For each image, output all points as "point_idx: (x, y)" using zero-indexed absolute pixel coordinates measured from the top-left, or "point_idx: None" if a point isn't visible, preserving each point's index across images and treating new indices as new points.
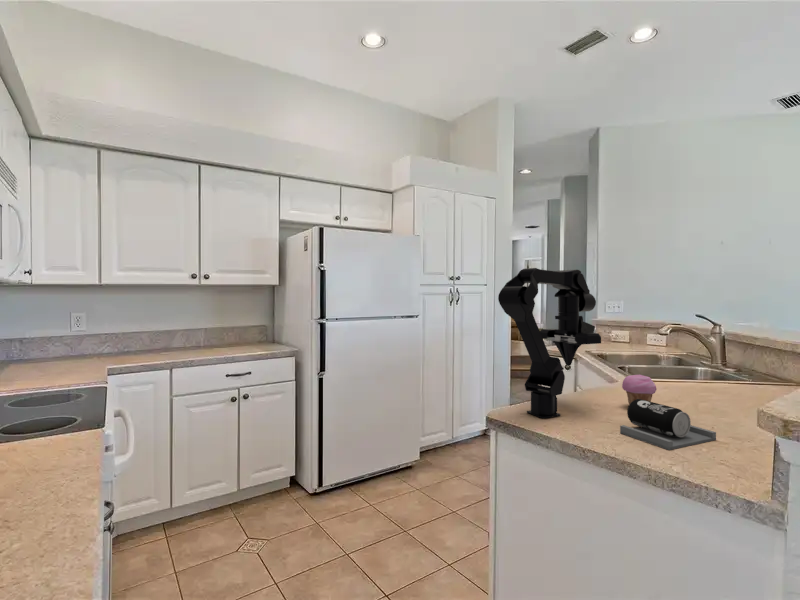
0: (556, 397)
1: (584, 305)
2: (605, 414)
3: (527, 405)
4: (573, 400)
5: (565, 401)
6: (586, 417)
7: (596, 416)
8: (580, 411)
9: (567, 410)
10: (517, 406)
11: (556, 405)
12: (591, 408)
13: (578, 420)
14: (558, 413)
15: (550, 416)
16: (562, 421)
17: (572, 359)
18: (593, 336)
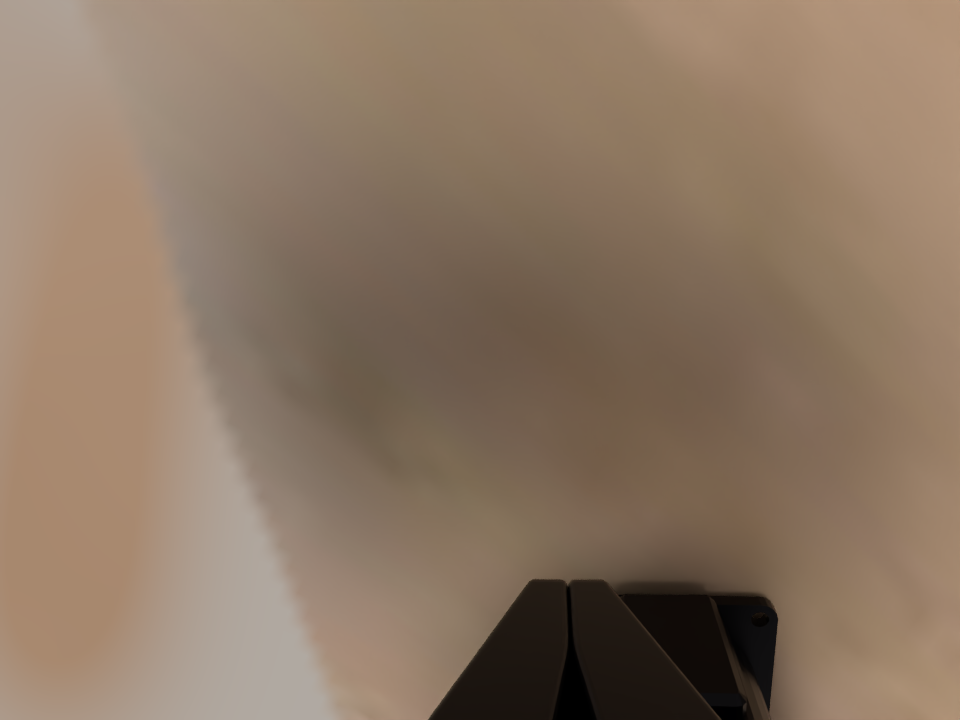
0: (742, 706)
1: None
2: (957, 135)
3: (347, 606)
4: (311, 3)
5: (324, 143)
6: (917, 411)
7: (951, 293)
8: (730, 304)
9: (640, 399)
10: (350, 695)
11: (729, 649)
12: (696, 86)
13: (941, 544)
14: (747, 608)
15: (767, 703)
16: (884, 673)
17: (678, 688)
18: None
